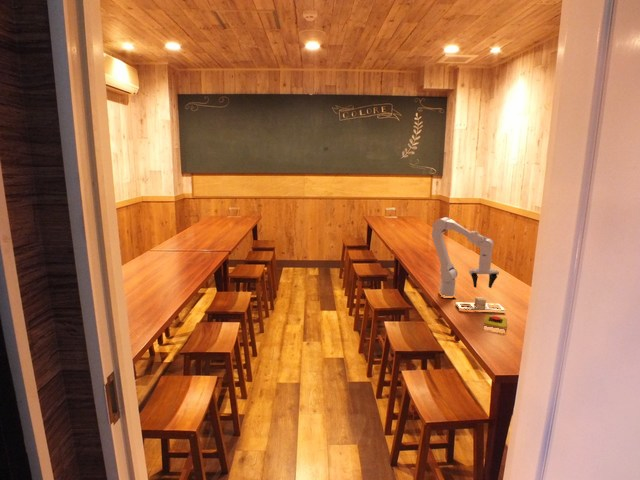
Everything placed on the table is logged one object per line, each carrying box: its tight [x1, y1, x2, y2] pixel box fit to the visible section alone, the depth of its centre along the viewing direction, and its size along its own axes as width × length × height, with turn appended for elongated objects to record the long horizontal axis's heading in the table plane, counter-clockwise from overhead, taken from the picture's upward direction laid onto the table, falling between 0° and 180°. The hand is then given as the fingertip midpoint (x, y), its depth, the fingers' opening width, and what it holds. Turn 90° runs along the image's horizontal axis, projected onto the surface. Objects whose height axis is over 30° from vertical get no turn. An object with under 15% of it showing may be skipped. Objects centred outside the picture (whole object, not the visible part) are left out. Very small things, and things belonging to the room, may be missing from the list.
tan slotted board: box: [455, 301, 506, 312], centre depth 201 cm, size 8×22×2 cm, turn 86°
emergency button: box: [483, 314, 508, 330], centre depth 182 cm, size 9×4×15 cm
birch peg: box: [474, 296, 487, 308], centre depth 201 cm, size 4×4×6 cm
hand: (482, 287), depth 207 cm, fingers open, 7 cm apart
